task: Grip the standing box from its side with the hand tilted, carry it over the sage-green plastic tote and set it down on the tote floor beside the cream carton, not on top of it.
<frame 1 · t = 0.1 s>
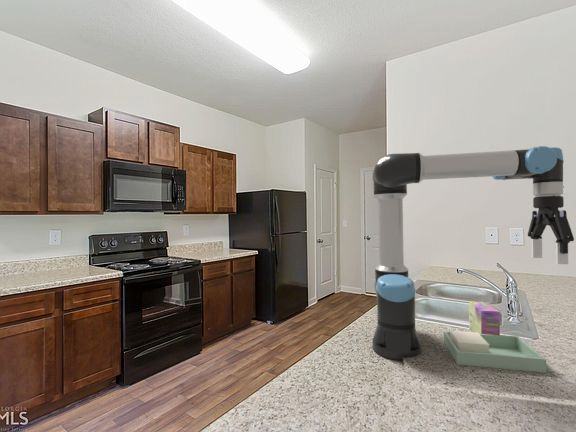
hand: (548, 260, 98), 28 cm above the worktop, tool pointing down, fingers open, 13 cm apart
carton: (468, 353, 92), point 1 cm above the worktop, touching tote
box: (484, 340, 104), on the worktop
tote: (489, 358, 91), on the worktop
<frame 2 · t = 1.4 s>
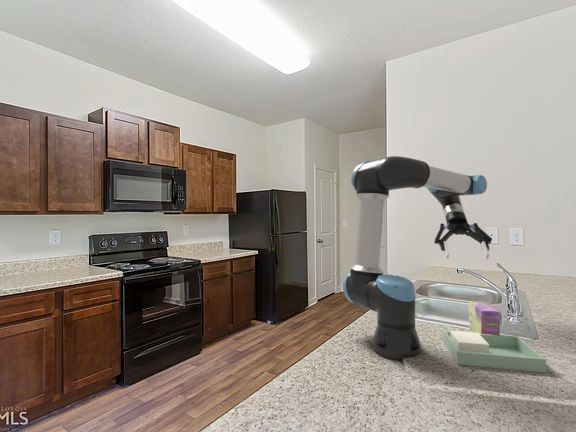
hand: (467, 256, 114), 27 cm above the worktop, tool tilted 45°, fingers open, 13 cm apart
nothing on the worktop moved.
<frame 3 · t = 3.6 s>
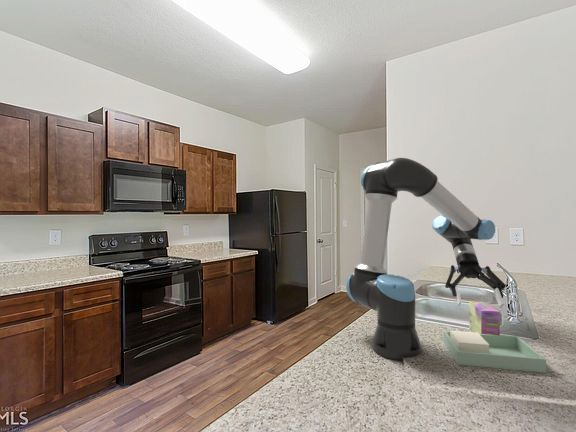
hand: (480, 305, 109), 10 cm above the worktop, tool tilted 45°, fingers open, 13 cm apart
nothing on the worktop moved.
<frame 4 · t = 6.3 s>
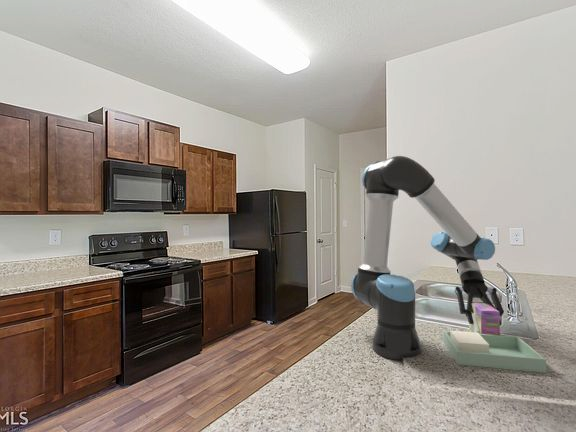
hand: (488, 333, 100), 4 cm above the worktop, tool tilted 45°, fingers closed on box, 6 cm apart
box: (483, 340, 104), on the worktop, touching gripper
everything else where it was.
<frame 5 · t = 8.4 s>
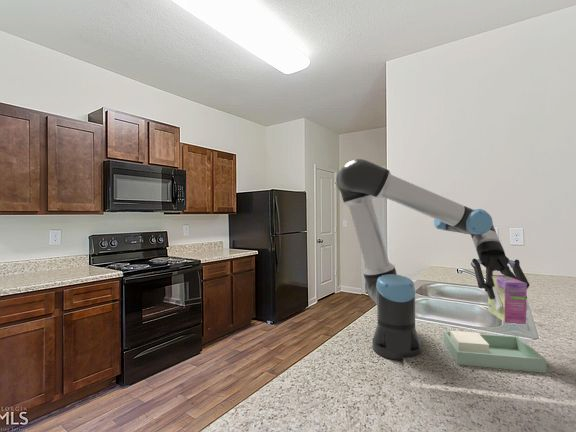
hand: (512, 309, 87), 16 cm above the worktop, tool tilted 45°, fingers closed on box, 6 cm apart
box: (506, 318, 91), point 12 cm above the worktop, touching gripper
everything else where it was.
when the fingers open (6 cm above the worktop, at t = 10.9 s): box drops 1 cm, resting on tote.
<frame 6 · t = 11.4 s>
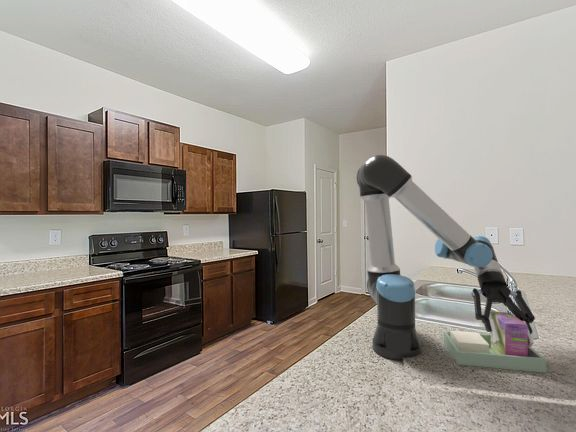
hand: (513, 343, 86), 6 cm above the worktop, tool tilted 45°, fingers open, 8 cm apart
box: (508, 357, 90), point 1 cm above the worktop, touching tote
everything else where it was.
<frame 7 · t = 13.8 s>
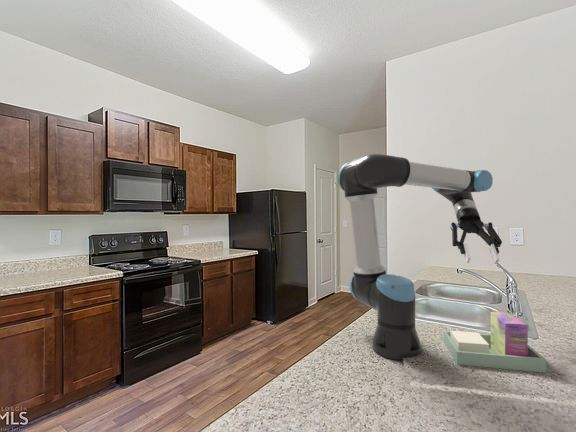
hand: (482, 261, 102), 28 cm above the worktop, tool tilted 45°, fingers open, 8 cm apart
nothing on the worktop moved.
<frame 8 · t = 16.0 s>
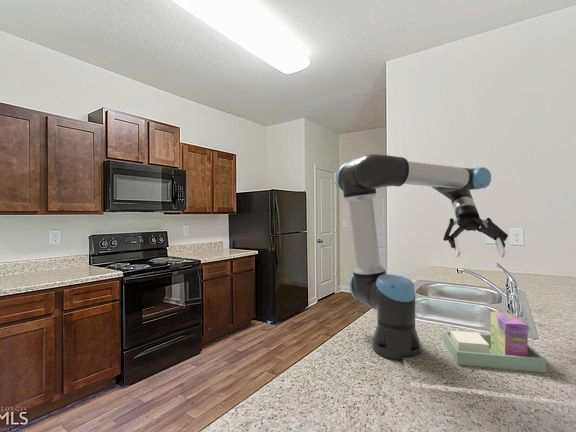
hand: (480, 254, 103), 30 cm above the worktop, tool tilted 45°, fingers open, 13 cm apart
nothing on the worktop moved.
at the end: box inside the target area on the tote (0.3 cm from its centre), point 0.8 cm above the tote's base; box tilted 0°; carton moved 0.0 cm from its start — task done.
